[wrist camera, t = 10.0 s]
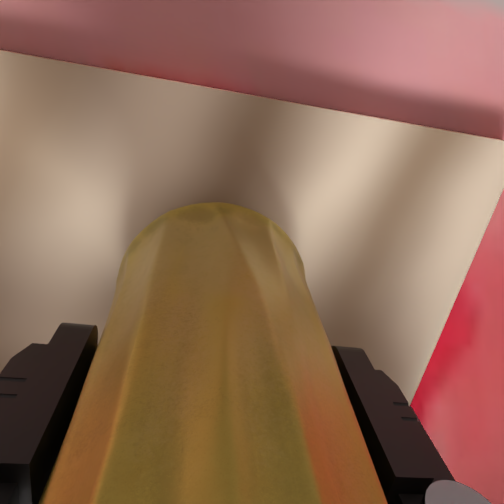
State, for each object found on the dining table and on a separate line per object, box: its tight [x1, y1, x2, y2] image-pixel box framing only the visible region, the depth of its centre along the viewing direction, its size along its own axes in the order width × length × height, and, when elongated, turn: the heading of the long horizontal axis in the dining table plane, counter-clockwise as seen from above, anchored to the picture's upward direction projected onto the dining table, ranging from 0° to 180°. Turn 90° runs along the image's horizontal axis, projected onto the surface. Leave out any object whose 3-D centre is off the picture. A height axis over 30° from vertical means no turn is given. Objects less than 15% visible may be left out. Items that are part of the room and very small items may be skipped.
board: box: [0, 49, 504, 406], centre depth 15 cm, size 20×12×1 cm, turn 80°
